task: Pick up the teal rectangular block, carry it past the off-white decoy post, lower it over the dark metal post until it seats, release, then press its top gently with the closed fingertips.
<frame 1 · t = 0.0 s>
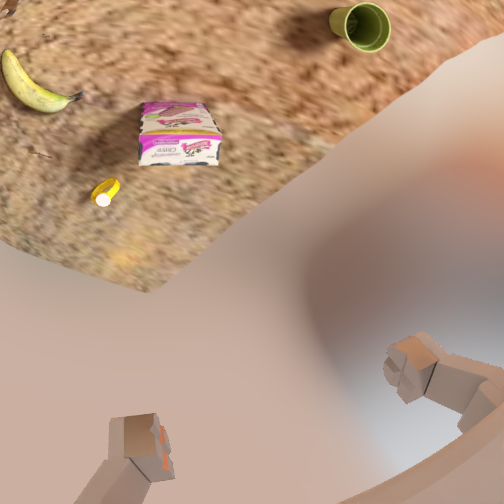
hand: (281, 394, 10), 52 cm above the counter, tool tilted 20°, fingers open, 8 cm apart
watch: (106, 183, 57), on the counter
plant pot: (341, 22, 46), on the counter
candy bar box: (172, 113, 52), on the counter
banana: (39, 80, 39), on the counter
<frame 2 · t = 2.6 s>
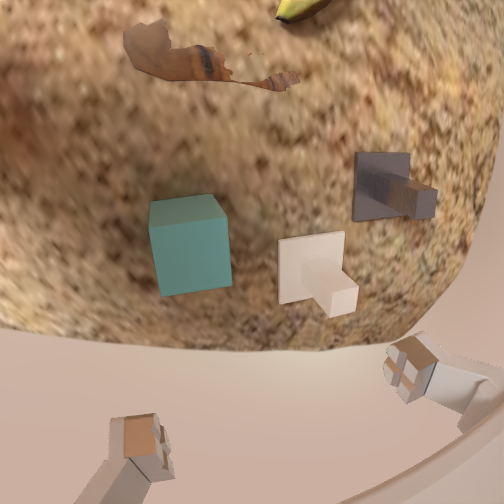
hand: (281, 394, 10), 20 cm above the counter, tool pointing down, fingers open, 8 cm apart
teal rectangular block: (184, 226, 27), on the counter
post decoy: (310, 266, 33), on the counter
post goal: (381, 185, 31), on the counter
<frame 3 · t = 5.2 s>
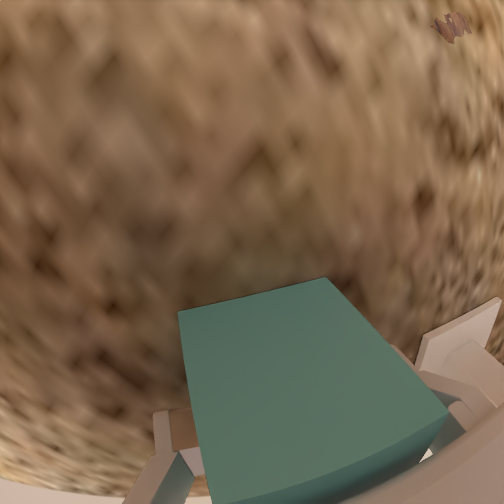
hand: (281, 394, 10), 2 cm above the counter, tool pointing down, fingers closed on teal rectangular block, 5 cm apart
teal rectangular block: (261, 351, 12), on the counter, touching gripper
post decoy: (450, 357, 17), on the counter
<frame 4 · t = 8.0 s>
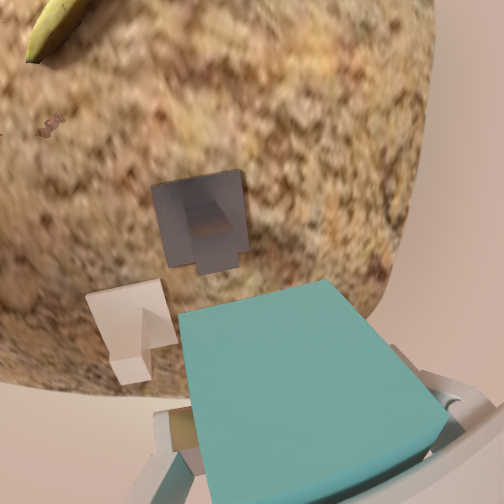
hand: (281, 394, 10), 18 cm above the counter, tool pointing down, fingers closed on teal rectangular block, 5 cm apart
teal rectangular block: (262, 353, 12), point 16 cm above the counter, touching gripper
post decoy: (133, 318, 28), on the counter
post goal: (202, 218, 26), on the counter
when the fingers open (5 cm above the counter, at t = 10.8 s): teal rectangular block drops 1 cm, resting on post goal.
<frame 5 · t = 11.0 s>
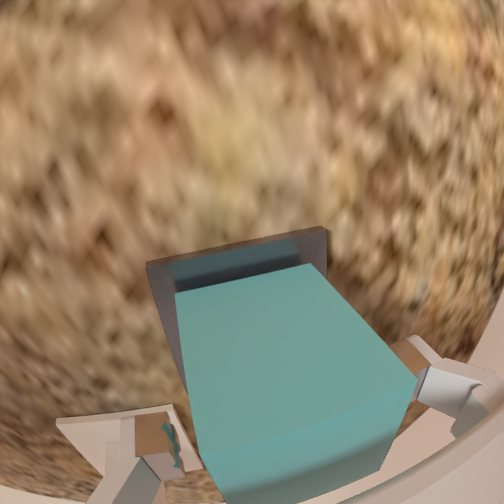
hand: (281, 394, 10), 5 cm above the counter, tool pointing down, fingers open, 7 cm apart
teal rectangular block: (252, 332, 13), point 1 cm above the counter, touching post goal
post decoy: (133, 446, 16), on the counter
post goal: (247, 317, 14), on the counter
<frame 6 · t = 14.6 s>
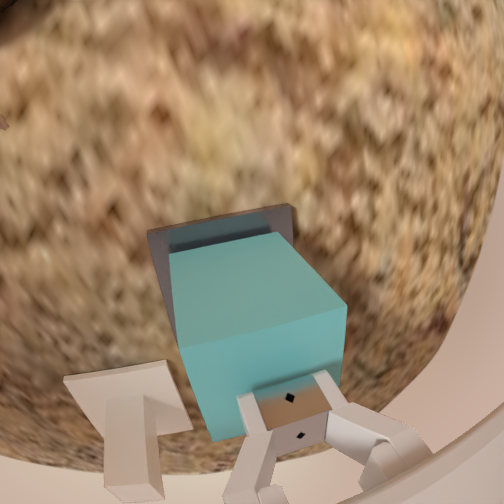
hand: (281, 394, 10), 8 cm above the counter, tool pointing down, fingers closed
teal rectangular block: (231, 290, 16), point 1 cm above the counter, touching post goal
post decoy: (131, 404, 19), on the counter
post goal: (228, 279, 17), on the counter
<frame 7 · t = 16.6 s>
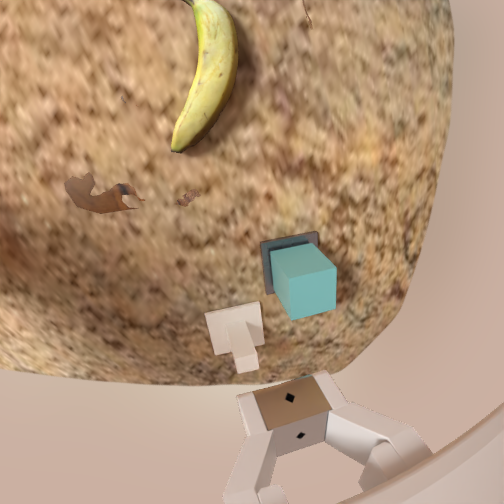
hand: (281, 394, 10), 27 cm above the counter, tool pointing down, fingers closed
teal rectangular block: (292, 266, 39), point 1 cm above the counter, touching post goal
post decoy: (235, 328, 42), on the counter
banana: (194, 66, 29), on the counter
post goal: (290, 262, 40), on the counter
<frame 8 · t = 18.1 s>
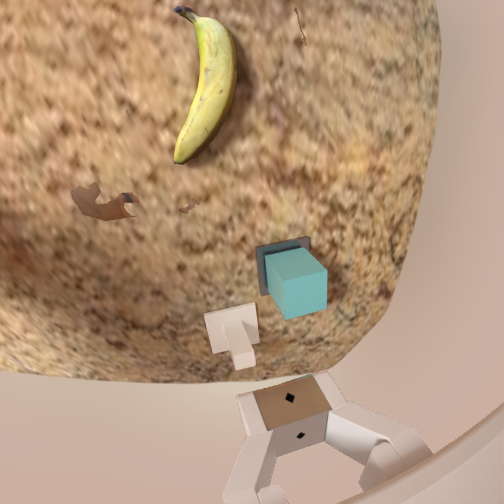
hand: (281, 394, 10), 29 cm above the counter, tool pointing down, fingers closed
teal rectangular block: (285, 269, 42), point 1 cm above the counter, touching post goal
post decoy: (232, 328, 44), on the counter
banana: (195, 81, 31), on the counter
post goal: (283, 265, 42), on the counter
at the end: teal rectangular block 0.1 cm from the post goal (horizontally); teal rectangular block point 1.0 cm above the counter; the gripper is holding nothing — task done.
